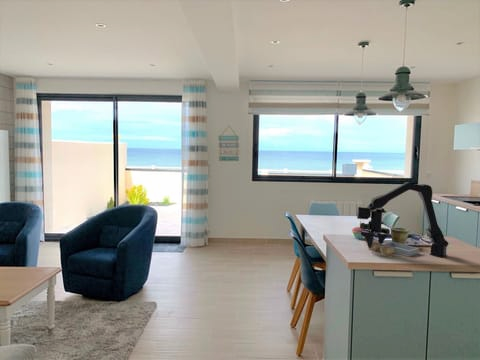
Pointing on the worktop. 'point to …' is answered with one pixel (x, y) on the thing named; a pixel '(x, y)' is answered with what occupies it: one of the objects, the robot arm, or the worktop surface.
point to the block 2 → (387, 251)
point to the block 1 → (375, 247)
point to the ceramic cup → (399, 235)
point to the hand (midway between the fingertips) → (374, 247)
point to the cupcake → (357, 232)
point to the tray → (402, 249)
